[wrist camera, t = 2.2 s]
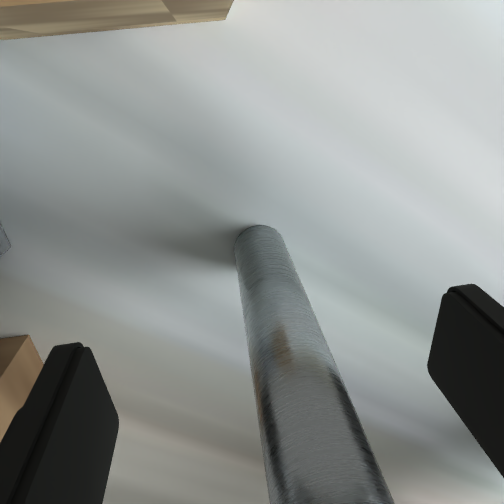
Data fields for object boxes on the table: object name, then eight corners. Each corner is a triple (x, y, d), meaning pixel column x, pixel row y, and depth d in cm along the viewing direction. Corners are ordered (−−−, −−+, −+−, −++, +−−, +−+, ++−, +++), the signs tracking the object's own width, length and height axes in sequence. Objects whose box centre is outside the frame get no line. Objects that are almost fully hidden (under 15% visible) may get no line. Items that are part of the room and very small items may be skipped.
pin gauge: (282, 222, 15) (452, 585, 5) (284, 266, 16) (427, 643, 6) (231, 228, 15) (287, 614, 5) (237, 273, 16) (292, 669, 6)
